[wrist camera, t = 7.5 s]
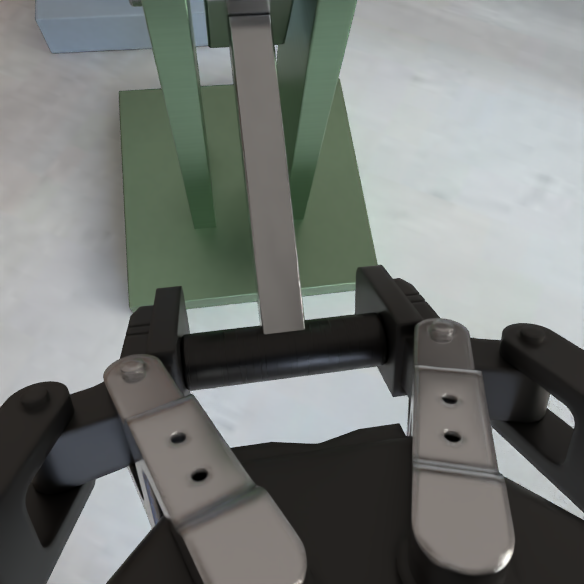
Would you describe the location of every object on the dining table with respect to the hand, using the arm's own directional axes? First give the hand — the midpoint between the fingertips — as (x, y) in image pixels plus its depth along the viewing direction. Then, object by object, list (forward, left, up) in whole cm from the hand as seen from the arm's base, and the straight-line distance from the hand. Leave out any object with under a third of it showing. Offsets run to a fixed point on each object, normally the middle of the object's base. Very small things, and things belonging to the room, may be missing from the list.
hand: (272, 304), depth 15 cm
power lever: (0, -4, +2) cm, 4 cm away
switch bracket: (0, -8, -7) cm, 11 cm away
